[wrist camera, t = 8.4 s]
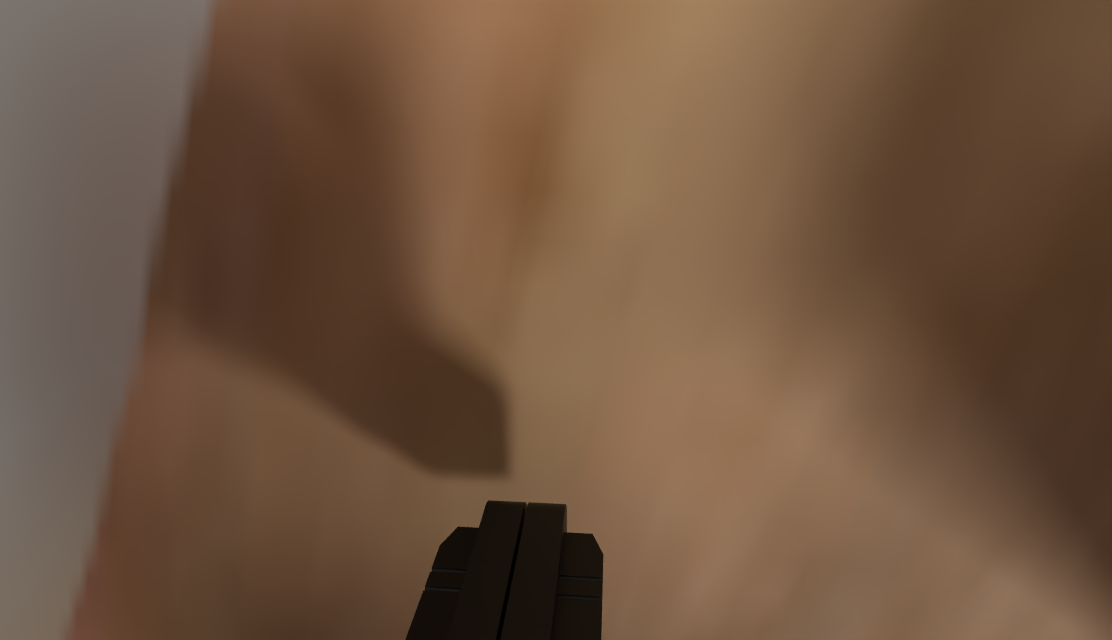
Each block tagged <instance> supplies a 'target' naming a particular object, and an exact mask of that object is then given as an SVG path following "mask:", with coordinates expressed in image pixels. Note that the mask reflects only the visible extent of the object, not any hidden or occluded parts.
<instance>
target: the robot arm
mask: <svg viewBox="0 0 1112 640" xmlns="http://www.w3.org/2000/svg"><path fill="white" fill-rule="evenodd" d="M602 586H603V553H602V551H601V549H600V547H599V545H598V543H597V542H596V540H595V538H594V536H593V534H584V533H567V506H566V504H550V503H530V502H529V503H528V505H527V504H526V502H508V501H487V503H486V506H485V510H484V513H483V516H482V520H481V523H480V526H479V528H472V527H457V528H456V529H455V530H454V531H453V532H452V533H451V534H450V536H449V537H448V538H447V539H446V540H445V541H444V542H443V543H442V544H441V545H440V547H439V550H438V552H437V555H436V558H435V560H434V563H433V566H432V572H430V574H429V577H428V580H427V582H426V585H425V591H423V593H422V596H421V599H420V601H419V604H418V607H417V610H416V612H415V615H414V618H413V620H412V623H411V626H410V629H409V631H408V634H407V637H406V640H601V626H602Z"/></svg>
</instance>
